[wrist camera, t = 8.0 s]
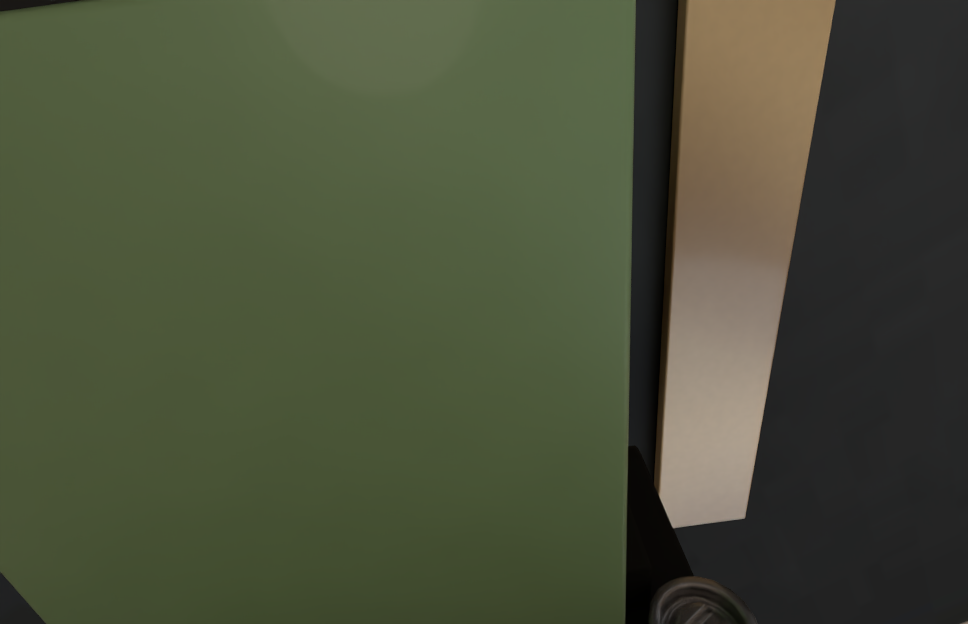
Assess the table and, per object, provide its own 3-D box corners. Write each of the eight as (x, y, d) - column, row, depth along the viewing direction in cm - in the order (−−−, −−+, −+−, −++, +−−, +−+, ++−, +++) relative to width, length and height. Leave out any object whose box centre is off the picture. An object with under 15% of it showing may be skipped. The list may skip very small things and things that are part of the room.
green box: (333, 509, 13) (257, 866, 7) (153, 23, 8) (-456, 71, 2) (549, 480, 13) (622, 817, 7) (506, -25, 8) (641, -77, 2)
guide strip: (738, 507, 15) (745, 519, 15) (651, 518, 15) (656, 530, 15) (845, -147, 8) (863, -153, 8) (683, -125, 8) (694, -130, 8)
